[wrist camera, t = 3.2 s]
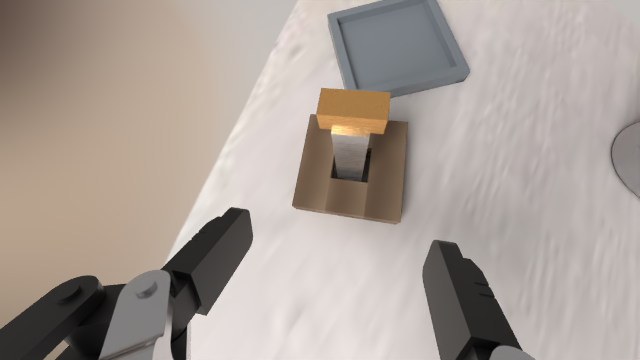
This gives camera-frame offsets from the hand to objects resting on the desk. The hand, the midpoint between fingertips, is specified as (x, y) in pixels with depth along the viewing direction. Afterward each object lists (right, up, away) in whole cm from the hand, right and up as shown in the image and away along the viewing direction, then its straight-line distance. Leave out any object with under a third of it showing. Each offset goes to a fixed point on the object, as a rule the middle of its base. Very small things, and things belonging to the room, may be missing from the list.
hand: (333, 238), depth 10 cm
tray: (+8, +18, +18) cm, 27 cm away
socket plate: (+3, +4, +14) cm, 15 cm away
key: (+3, +4, +14) cm, 15 cm away
